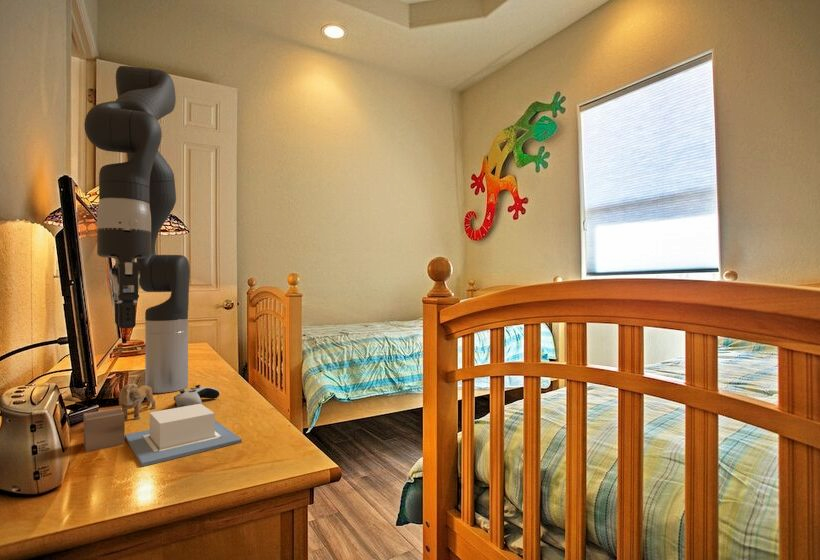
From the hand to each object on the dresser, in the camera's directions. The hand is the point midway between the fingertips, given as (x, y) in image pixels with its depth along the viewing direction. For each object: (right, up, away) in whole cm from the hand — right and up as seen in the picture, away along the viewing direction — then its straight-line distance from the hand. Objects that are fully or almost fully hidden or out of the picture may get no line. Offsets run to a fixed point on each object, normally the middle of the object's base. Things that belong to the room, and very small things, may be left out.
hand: (124, 326), depth 71 cm
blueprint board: (+9, -19, 0) cm, 21 cm away
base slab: (+9, -19, 0) cm, 21 cm away
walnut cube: (-3, -19, -1) cm, 20 cm away
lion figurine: (-7, -20, +14) cm, 26 cm away
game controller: (+3, -20, +21) cm, 29 cm away
